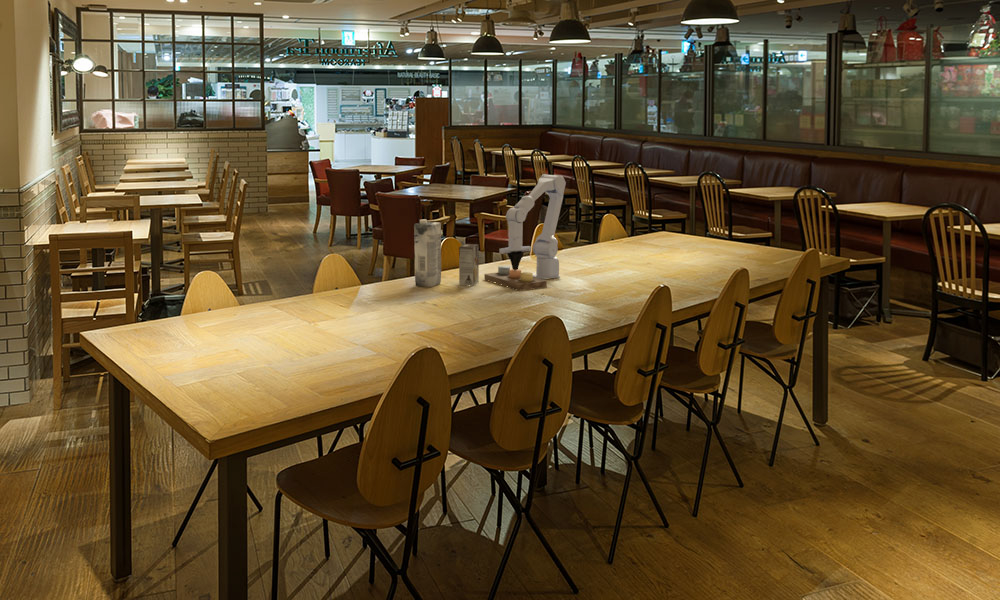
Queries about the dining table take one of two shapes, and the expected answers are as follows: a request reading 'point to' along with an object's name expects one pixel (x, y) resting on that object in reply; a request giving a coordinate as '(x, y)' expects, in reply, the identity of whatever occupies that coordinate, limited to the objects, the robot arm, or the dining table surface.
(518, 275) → the button terracotta
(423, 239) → the juice carton
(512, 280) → the board
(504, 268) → the button blue
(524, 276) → the button ochre
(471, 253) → the coffee box
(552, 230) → the robot arm
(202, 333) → the dining table surface
